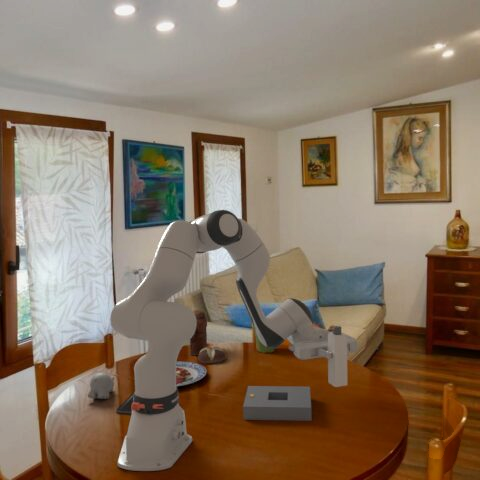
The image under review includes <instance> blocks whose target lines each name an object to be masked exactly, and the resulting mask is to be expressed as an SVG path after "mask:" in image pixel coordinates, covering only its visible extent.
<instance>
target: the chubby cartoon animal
mask: <svg viewBox="0 0 480 480" xmlns="http://www.w3.org/2000/svg"><path fill="white" fill-rule="evenodd" d="M89 387H90V390H89V391H88V393H87V397H88V398H89V399H103V400H108V399H110V393H111V392H113V391H114V387H115V376H113V377H111V376H110V374H108V373H106V372H98V373H95V374H94V375H93V377H92V378H91V379H90V382H89Z"/></svg>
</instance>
